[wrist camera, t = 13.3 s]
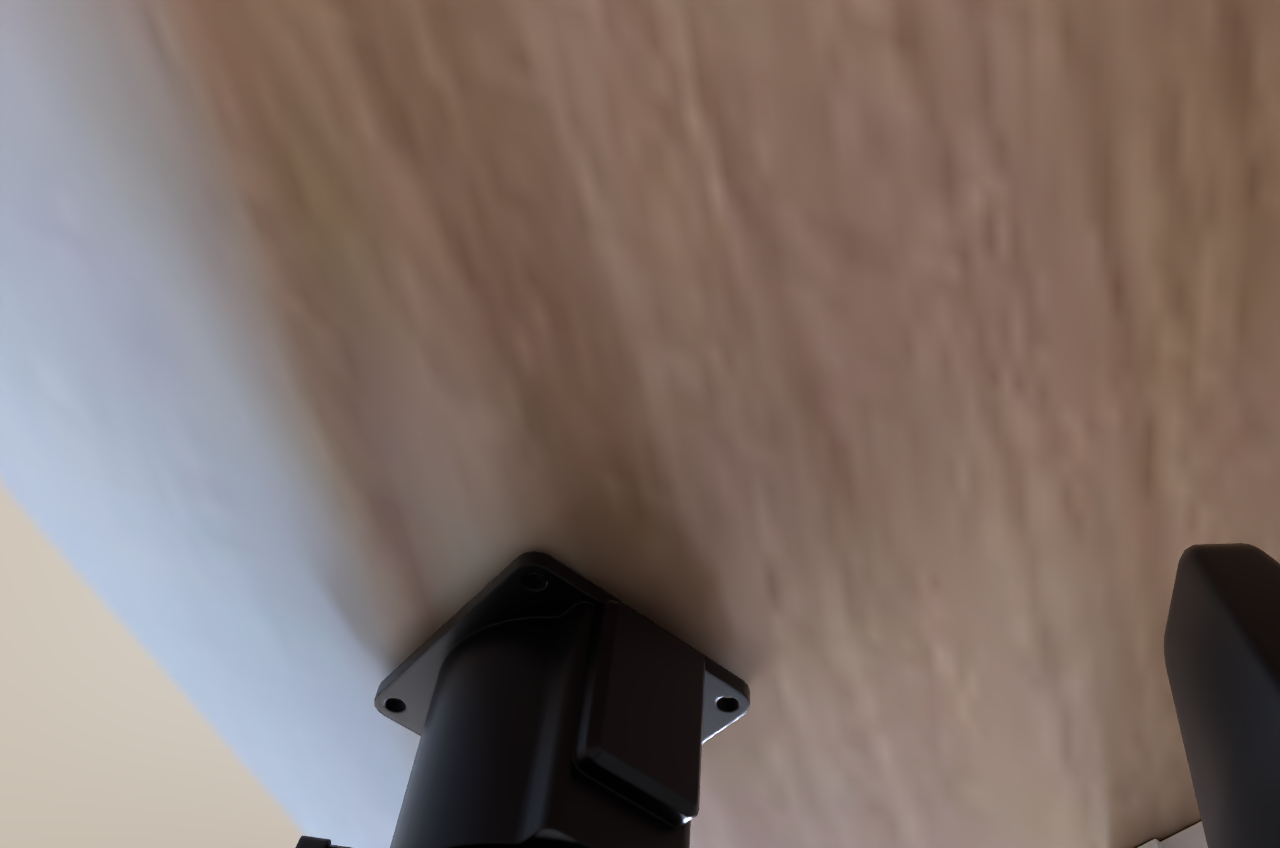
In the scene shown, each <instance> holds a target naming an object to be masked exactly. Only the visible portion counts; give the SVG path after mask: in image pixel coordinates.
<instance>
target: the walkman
mask: <svg viewBox="0 0 1280 848" xmlns="http://www.w3.org/2000/svg"><path fill="white" fill-rule="evenodd" d="M1137 848H1208V846H1207V842H1206V838H1205V833H1204V829H1203V825H1202V821H1201V822H1199V823H1197V824H1195V825H1193V826H1191V827H1189V828H1187V829H1185V830H1183V831H1181V832H1179V833H1177V834H1175V835H1173V836H1171V837H1169V838H1167V839H1165V840H1163V841H1161V842H1159V841H1158V840H1157V839H1153V840H1151V841H1149V842H1147V843H1145V844H1143V845H1141V846H1139V847H1137Z"/></svg>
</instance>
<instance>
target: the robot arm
mask: <svg viewBox="0 0 1280 848" xmlns="http://www.w3.org/2000/svg"><path fill="white" fill-rule="evenodd" d="M529 573H537V574H539V575H542V576H543V577H533V576H530V575H529ZM1164 654H1165V663H1166V669H1167V673H1168V678H1169V682H1170V686H1171V691H1172V695H1173V699H1174V704H1175V708H1176V712H1177V717H1178V721H1179V725H1180V730H1181V734H1182V738H1183V743H1184V747H1185V751H1186V755H1187V760H1188V764H1189V768H1190V773H1191V777H1192V781H1193V786H1194V790H1195V794H1196V799H1197V803H1198V807H1199V812H1200V816H1201V820H1202V825H1203V829H1204V833H1205V838H1206V842H1207V846H1208V848H1280V563H1278V562H1277V561H1276V560H1274V559H1273V558H1272V557H1270V556H1269V555H1268V554H1266V553H1265V552H1264V551H1262V550H1260V549H1259V548H1257V547H1255V546H1252V545H1250V544H1243V543H1236V544H1203V545H1193V546H1191V547H1189V548H1188V549H1186V550H1185V551H1184V553H1183V554H1182V556H1181V558H1180V561H1179V564H1178V569H1177V574H1176V579H1175V584H1174V589H1173V594H1172V599H1171V604H1170V609H1169V614H1168V619H1167V624H1166V629H1165V636H1164ZM724 697H732V698H724ZM374 701H375V707H376V708H377V710H378V711H379V712H380V713H382V714H383V715H384V716H386V717H388V718H390V719H391V720H393V721H395V722H397V723H399V724H400V725H402V726H404V727H406V728H408V729H409V730H411V731H413V732H415V733H417V734H418V735H420V736H421V739H420V742H419V746H418V749H417V753H416V757H415V760H414V764H413V767H412V771H411V774H410V778H409V782H408V785H407V789H406V792H405V796H404V800H403V803H402V807H401V810H400V814H399V818H398V821H397V825H396V828H395V832H394V835H393V839H392V843H391V846H390V848H689V846H690V826H691V819H693V818H694V817H696V816H697V814H698V811H699V797H700V774H701V751H702V743H704V742H705V741H707V740H708V739H710V738H711V737H713V736H714V735H715V734H717V733H718V732H720V731H721V730H723V729H724V728H726V727H727V726H728V725H730V724H731V723H733V722H734V721H736V720H737V719H738V718H740V717H741V716H743V715H744V714H745V713H746V712H747V711H748V710H749V705H750V690H749V687H748V685H747V684H746V683H745V682H744V681H743V680H742V679H740V678H738V677H737V676H735V675H734V674H732V673H731V672H729V671H728V670H726V669H725V668H723V667H721V666H720V665H718V664H717V663H715V662H714V661H712V660H711V659H709V658H708V657H706V656H704V655H703V654H701V653H700V652H698V651H697V650H695V649H694V648H692V647H691V646H689V645H687V644H686V643H684V642H683V641H681V640H680V639H678V638H677V637H675V636H673V635H672V634H670V633H669V632H667V631H666V630H664V629H663V628H661V627H660V626H658V625H656V624H655V623H653V622H652V621H650V620H649V619H647V618H646V617H644V616H643V615H641V614H639V613H638V612H636V611H635V610H633V609H632V608H630V607H629V606H627V605H626V604H624V603H622V602H621V601H619V600H618V599H616V598H615V597H613V596H612V595H610V594H609V593H607V592H605V591H604V590H602V589H601V588H599V587H598V586H596V585H595V584H593V583H591V582H590V581H588V580H587V579H585V578H584V577H582V576H581V575H579V574H578V573H576V572H574V571H573V570H571V569H570V568H568V567H567V566H565V565H564V564H562V563H561V562H559V561H557V560H556V559H554V558H553V557H551V556H549V555H547V554H545V553H541V552H528V553H524V554H523V555H521V556H519V557H518V558H517V559H516V560H514V561H513V562H512V563H511V564H510V565H509V566H508V567H507V568H506V569H505V570H504V571H502V572H501V573H500V574H499V575H498V576H497V577H496V578H495V579H494V580H493V581H492V582H490V583H489V584H488V585H487V586H486V587H485V588H484V589H483V590H482V591H481V592H480V593H478V594H477V595H476V596H475V597H474V598H473V599H472V600H471V601H470V602H469V603H468V604H466V605H465V606H464V607H463V608H462V609H461V610H460V611H459V612H458V613H457V614H456V615H454V616H453V617H452V618H451V619H450V620H449V621H448V622H447V623H446V624H445V625H443V626H442V627H441V628H440V629H439V630H438V631H437V632H436V633H435V634H434V635H433V636H431V637H430V638H429V639H428V640H427V641H426V642H425V643H424V644H423V645H422V646H421V647H419V648H418V649H417V650H416V651H415V652H414V653H413V654H412V655H411V656H410V657H409V658H407V659H406V660H405V661H404V662H403V663H402V664H401V665H400V666H399V667H398V668H397V669H395V670H394V671H393V672H392V673H391V674H390V675H389V676H388V677H387V678H386V679H385V680H383V681H382V682H381V684H380V686H379V688H378V691H377V694H376V697H375V700H374ZM296 848H350V847H343V846H337V845H331V840H330V839H323V838H316V837H309V836H301V838H300V840H299V842H298V844H297V846H296Z"/></svg>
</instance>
